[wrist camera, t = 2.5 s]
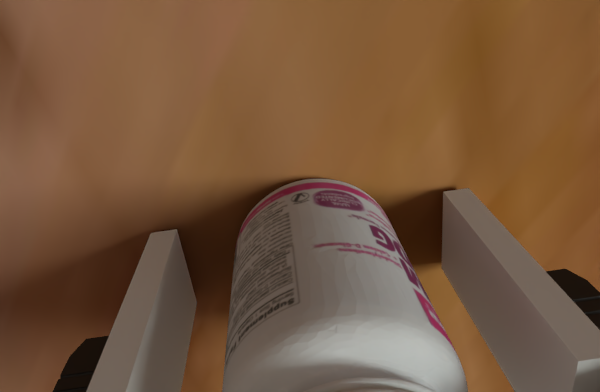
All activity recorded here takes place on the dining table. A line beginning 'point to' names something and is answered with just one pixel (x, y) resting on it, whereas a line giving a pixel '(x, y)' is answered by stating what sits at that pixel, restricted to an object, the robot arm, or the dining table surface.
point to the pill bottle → (330, 301)
